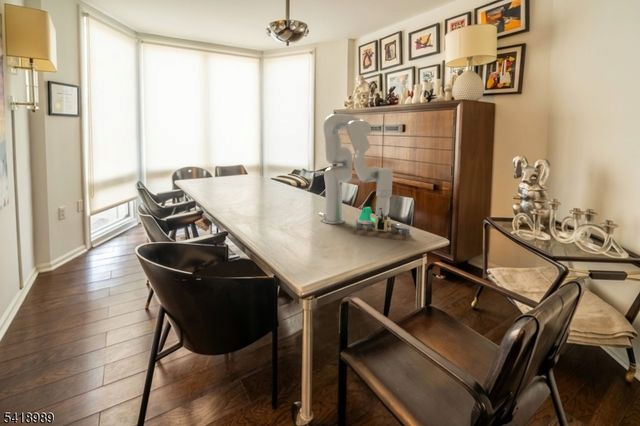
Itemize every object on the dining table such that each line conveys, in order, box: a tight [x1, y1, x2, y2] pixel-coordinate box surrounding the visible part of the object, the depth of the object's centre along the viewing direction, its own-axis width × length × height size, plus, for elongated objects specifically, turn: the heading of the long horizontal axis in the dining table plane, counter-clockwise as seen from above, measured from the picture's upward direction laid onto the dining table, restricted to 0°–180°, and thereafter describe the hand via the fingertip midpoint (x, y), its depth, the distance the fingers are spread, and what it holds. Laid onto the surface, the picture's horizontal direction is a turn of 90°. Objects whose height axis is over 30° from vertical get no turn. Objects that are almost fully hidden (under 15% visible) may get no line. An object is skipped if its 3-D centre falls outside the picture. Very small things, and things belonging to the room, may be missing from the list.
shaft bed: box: [353, 226, 411, 241], centre depth 182 cm, size 26×11×2 cm, turn 66°
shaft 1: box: [355, 219, 375, 231], centre depth 185 cm, size 9×4×5 cm, turn 76°
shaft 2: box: [389, 222, 411, 236], centre depth 178 cm, size 9×4×5 cm, turn 56°
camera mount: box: [358, 206, 376, 227], centre depth 200 cm, size 12×8×10 cm, turn 22°
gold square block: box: [374, 216, 391, 232], centre depth 182 cm, size 7×6×6 cm
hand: (382, 227), depth 182 cm, fingers closed on gold square block, 5 cm apart
